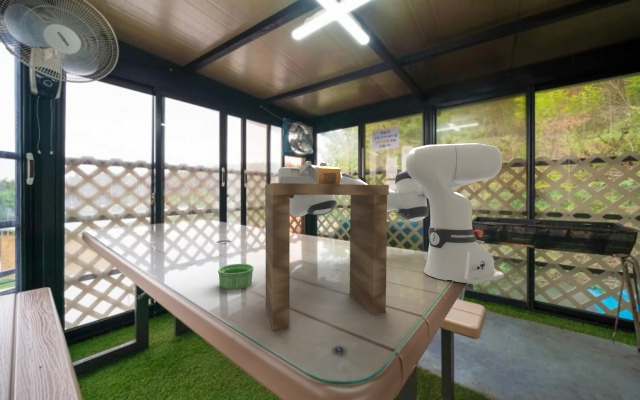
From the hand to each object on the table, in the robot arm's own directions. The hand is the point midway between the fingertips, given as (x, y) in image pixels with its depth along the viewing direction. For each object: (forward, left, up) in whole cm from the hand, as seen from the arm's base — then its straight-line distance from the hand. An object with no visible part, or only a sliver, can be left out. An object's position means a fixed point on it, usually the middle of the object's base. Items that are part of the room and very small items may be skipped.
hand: (316, 163), depth 74 cm
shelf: (+5, +21, -33) cm, 39 cm away
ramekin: (+22, 0, -33) cm, 40 cm away
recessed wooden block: (+1, +6, -5) cm, 8 cm away
